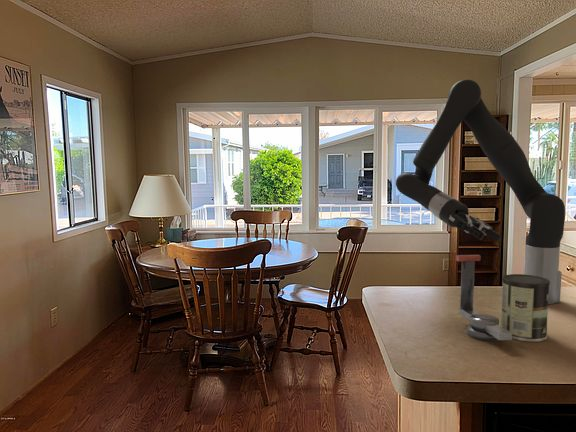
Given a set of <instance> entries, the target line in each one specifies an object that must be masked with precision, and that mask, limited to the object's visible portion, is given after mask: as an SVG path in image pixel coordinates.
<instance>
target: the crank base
mask: <svg viewBox="0 0 576 432" xmlns="http://www.w3.org/2000/svg"><path fill="white" fill-rule="evenodd" d="M466 334H467V336H468V337H471V338H472V339H475V340H479V341H485V342H486V341H487V342H495V341H499V340H498V339H497V338H495V337H494V336H492V335H491V334H489V333H488V332H481V331H477V330H474V329H472V328H471V327H470V323H469V324H468V325H466Z"/></svg>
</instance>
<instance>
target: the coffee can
mask: <svg viewBox="0 0 576 432" xmlns="http://www.w3.org/2000/svg"><path fill="white" fill-rule="evenodd" d="M501 279H502V294H501V295H502V299H501V323H500V326H502V327H503V328H505V329H507V330H508V331H510V332H511V333H512V340H515V341H516V340H517V341H523V342H528V343H529V342H531V343H533V342H534V343H536V342H537V343H539V342H544V341H546V340H547V338H548V313H549V304H548V298H549V285H550V281H549V280H548V279H546V278H543V277H539V276H533V275H524V273H512V274H506V275H503V276H502V278H501Z"/></svg>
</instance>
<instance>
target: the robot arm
mask: <svg viewBox="0 0 576 432" xmlns="http://www.w3.org/2000/svg"><path fill="white" fill-rule="evenodd" d="M463 121H464V123H465V124H466V125H467V126H468V128H469V129H470V130H471V132H472V135H473V136H474V139H475V140H476V142H477V143H478V145H479V147H480V149H481V150H482V152H483V153H484V155H485V156H486V158H487V159H488V161H489V162H490V163H491V165H492V166H493V168H494V169H495V170H496V171H497V173H498V174H499V176H500V177H501V178H502V179H503V180H504V181H505V183H506V184H507V185H508V186H509V187H510V188H511V190H512V191H513V193H514V195H515V196H516V199H517V201H518V202H519V204H520V205H521V208H522V209H523V212H524V213H525V215H526V217H527V218H529V231H528V233H527V234H526V236H525V245H524V246H525V247H524V266H523V275H533V276H539V277H543V278H546V279H548V280H549V281H550V285H549V298H548V305H555V304H556V303H561V293H562V291H561V290H562V289H561V288H562V275H563V274H562V273H563V272H562V271H561V270H559V268H560V254H561V251H560V249H561V241H562V239H563V236H564V229H565V220H566V206H565V203H564V201H563V200H562V198H561V197H559V196H557V195H556V194H553V193H548V192H547V190H546V189H544V188H543V186H542V185H541V184H540V182H539V181H538V180H537V179H536V177H535V176H534V174H533V172H532V169H531V167H530V164H529V161H528V159H527V156H526V154H525V152H524V150H523V149H522V147H521V145H519V143H518V141H516V139H515V137H514V136H513V135H512V134H511V133H510V132H509V131H508V130H507V128H506V127H505V126H504V125H502V124H501V122H500V121H499V120H497V119H496V118H495V117H494V116H493V114H491V112H490V111H489V109H488V107H487V106H486V104H485V103H484V100H483V98H482V89H481V87H480V86H479V84H478V82H476V81H474V80H472V79H462V80H461V79H460V80H459V81H457V82H456V83H454V84H453V86H452V87H451V88H450V90H449V91H448V95H447V100H446V103H445V106H444V108H443V110H442V112H441V114H440V116H439V118H438V120H437V122H436V123H435V125H434V127H433V128H432V129H431V131H430V132H429V134H428V135H427V137H426V138H425V140H424V141H423V142H422V144H421V146H420V148H419V149H418V151H417V153H416V155H415V156H414V159H413V160H412V161H413V162H412V163H413V165H414V166H415V167H416V169H415V172H414V174H413V173H412V172H402V173H400V174H399V175H398V176H397V178H396V179H395V187H396V189H397V191H398V192H399V193H401V194H402V195H404V196H406V197H408V198H409V199H410V200H412V201H415V202H416V203H418V205H421V206H422V207H423V208H425V209H426V210H427V211H429V212H430V213H431V214H432V215H434V216H435V217H436V218H437V219H439V220H441V221H442V222H443V223H444V224H446V225H447V226H449V227H450V228H456V229H458V230H459V231H460V232H465V233H466V234H470V235H471V236H473V237H474V238H476V239H477V240H479V241H482V240H483V239H484V237H485V236H486V237H488V238H489V239H491V240H492V241H494V243H498V242H499V241H500V240H501V239H502V235H501V234H500V233H498V232H496V231H494V230H493V229H494V227H493V226H491V225H490V224H488V223H486V222H485V221H483V220H482V219H480V218H478V217H476V216H473V215H471V214H470V215H469V208H468V206H467V205H466V204H464V203H462V202H461V201H459V200H458V199H456V198H454V197H453V196H451V195H450V194H447V193H445V192H443V191H442V190H440V189H438V188H437V187H436V186H433V185H431V184H430V183H431V179H432V176H433V172H434V169H435V167H436V166H437V164H438V163H439V162H440V160H441V158H442V156H443V154H444V152H445V151H446V148H447V147H448V145H449V143H450V141H451V140H452V138H453V137H454V134H455V133H456V131H457V129H458V128H459V126H460V125H461V123H462V122H463Z"/></svg>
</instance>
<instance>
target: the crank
mask: <svg viewBox="0 0 576 432" xmlns="http://www.w3.org/2000/svg"><path fill="white" fill-rule="evenodd" d="M455 255H456V254H455ZM481 257H482V256H481V255H480V254H457V255H456V256H455V261H456V262H461V267H460V268H461V275H460V301H459V303H460V304H459V313H458V314H460V315H462V317H464V318H465V319H467V320H468V321H470V323H469V324H470V327H471V328H472V329H474V330H477V331H481V332H488V333H489V334H491V335H492V336H494V337H495V338H497V339H498V340H497V341H512V340H513V339H512V333H511V332H510V331H508V330H507V329H505V328H503V327H502V326H501V324H500V319H499V318H498V317H496V316H495V315H494V316H493V315H491V314H485V313H480V312H478V311H477V310H476V309H474V293H475V292H474V291H475V268H476V267H475V265H476V263H475V262H481Z"/></svg>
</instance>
